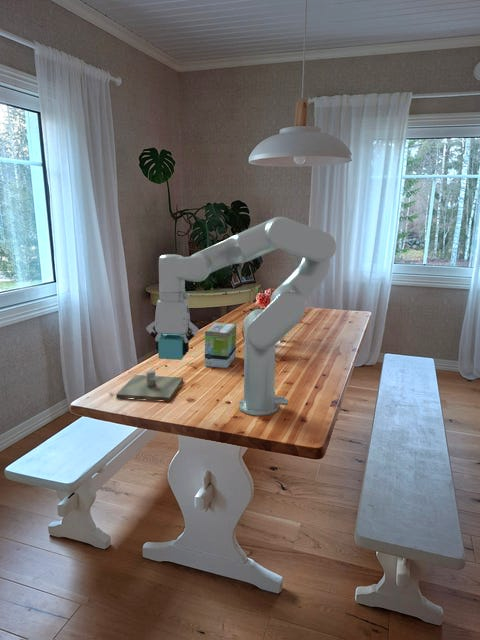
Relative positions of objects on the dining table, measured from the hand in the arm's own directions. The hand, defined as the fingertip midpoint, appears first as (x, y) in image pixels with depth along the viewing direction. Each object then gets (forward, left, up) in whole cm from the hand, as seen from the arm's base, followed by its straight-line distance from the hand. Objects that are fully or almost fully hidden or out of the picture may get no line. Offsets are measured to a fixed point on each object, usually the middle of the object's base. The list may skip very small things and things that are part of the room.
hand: (172, 352), depth 138 cm
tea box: (-8, -46, -18) cm, 50 cm away
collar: (0, 0, -1) cm, 1 cm away
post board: (+11, -13, -18) cm, 25 cm away
